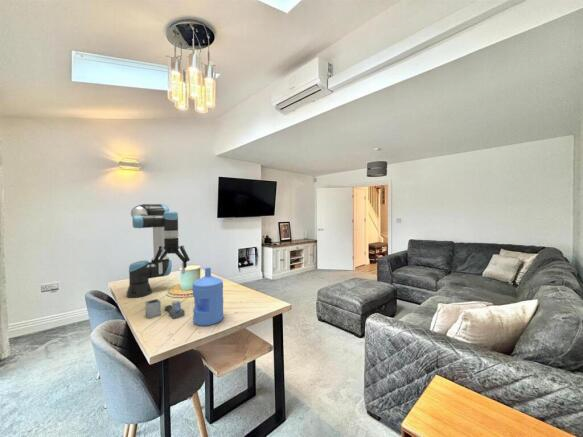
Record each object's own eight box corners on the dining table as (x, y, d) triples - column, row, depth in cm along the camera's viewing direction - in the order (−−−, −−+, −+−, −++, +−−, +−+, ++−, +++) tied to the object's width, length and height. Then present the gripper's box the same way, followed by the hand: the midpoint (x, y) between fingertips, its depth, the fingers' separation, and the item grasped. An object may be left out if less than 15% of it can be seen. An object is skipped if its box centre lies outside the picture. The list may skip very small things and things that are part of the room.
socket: (145, 315, 137) (145, 301, 137) (157, 312, 141) (156, 298, 141) (149, 318, 133) (148, 304, 133) (160, 315, 137) (160, 301, 137)
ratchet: (162, 310, 144) (162, 297, 144) (173, 307, 148) (172, 294, 148) (173, 319, 132) (173, 304, 132) (184, 315, 136) (184, 301, 136)
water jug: (215, 311, 143) (214, 264, 142) (228, 319, 131) (228, 268, 130) (188, 319, 132) (187, 268, 131) (200, 329, 120) (199, 273, 120)
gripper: (146, 238, 139) (147, 275, 139) (189, 238, 139) (190, 274, 139) (153, 237, 146) (154, 272, 147) (195, 236, 146) (195, 271, 147)
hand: (172, 273), depth 143 cm, fingers open, 13 cm apart
